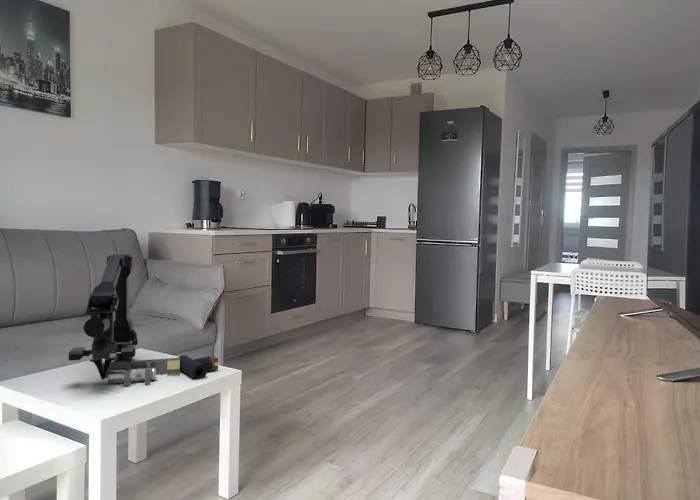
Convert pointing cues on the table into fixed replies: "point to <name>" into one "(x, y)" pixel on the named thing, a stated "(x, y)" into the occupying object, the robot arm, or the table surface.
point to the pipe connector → (198, 366)
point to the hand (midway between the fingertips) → (103, 379)
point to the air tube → (135, 375)
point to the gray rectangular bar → (162, 366)
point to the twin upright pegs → (127, 374)
